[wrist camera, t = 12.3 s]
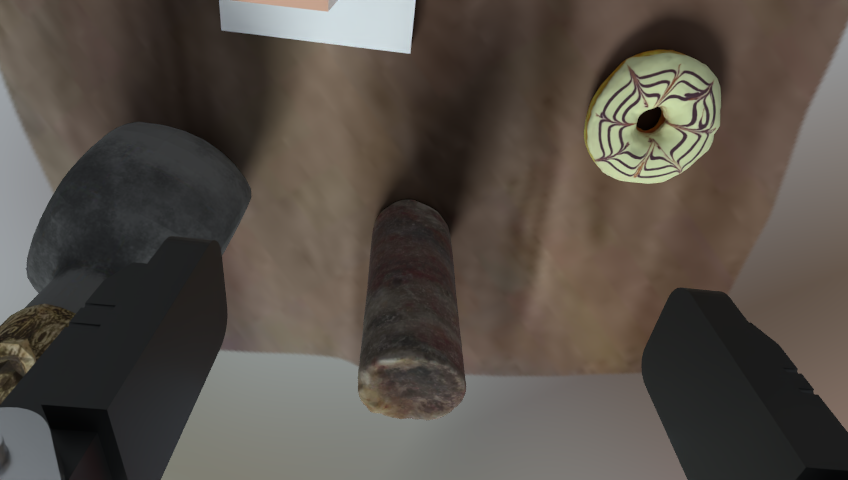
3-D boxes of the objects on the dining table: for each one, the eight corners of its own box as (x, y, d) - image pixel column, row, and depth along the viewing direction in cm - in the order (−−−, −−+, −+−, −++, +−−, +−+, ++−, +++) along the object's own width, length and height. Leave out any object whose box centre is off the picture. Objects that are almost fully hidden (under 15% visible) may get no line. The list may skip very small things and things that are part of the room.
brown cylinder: (467, 223, 51) (488, 385, 34) (425, 275, 54) (425, 447, 37) (398, 184, 49) (385, 336, 32) (359, 241, 52) (327, 406, 35)
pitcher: (287, 142, 46) (124, 435, 21) (202, 285, 55) (12, 617, 30) (166, 69, 43) (-201, 315, 18) (95, 234, 52) (-222, 559, 26)
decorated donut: (730, 56, 43) (755, 68, 40) (676, 176, 48) (694, 196, 45) (604, 36, 42) (619, 47, 39) (564, 161, 48) (575, 180, 44)
